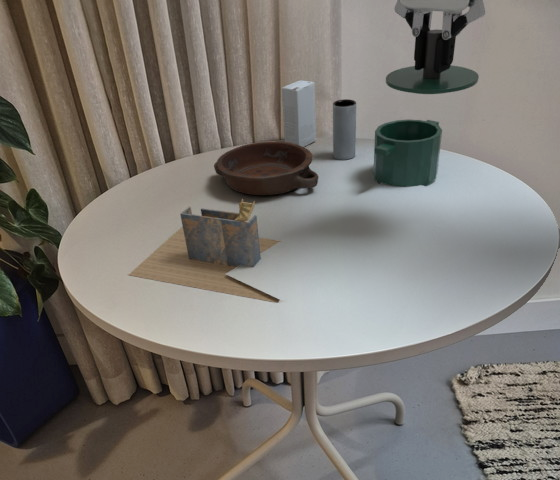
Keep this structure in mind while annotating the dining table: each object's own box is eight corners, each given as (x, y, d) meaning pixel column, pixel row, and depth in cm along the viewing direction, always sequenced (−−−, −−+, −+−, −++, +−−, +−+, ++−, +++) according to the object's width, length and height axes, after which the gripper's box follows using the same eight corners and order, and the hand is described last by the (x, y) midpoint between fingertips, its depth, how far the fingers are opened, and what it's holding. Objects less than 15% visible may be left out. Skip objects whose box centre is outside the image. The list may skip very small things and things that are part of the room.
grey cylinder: (339, 161, 116) (339, 107, 109) (329, 154, 119) (328, 102, 112) (359, 156, 117) (360, 103, 110) (348, 150, 120) (349, 97, 114)
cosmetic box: (301, 138, 128) (299, 78, 120) (317, 141, 125) (316, 81, 117) (283, 146, 124) (279, 86, 116) (299, 150, 122) (296, 89, 114)
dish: (238, 160, 120) (236, 135, 117) (337, 172, 112) (337, 146, 109) (194, 194, 109) (189, 168, 106) (299, 210, 101) (298, 182, 97)
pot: (455, 168, 110) (461, 122, 104) (405, 200, 101) (409, 151, 95) (404, 155, 116) (407, 111, 110) (352, 184, 107) (353, 138, 102)
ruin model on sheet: (318, 246, 91) (317, 186, 84) (277, 302, 80) (272, 239, 73) (182, 226, 99) (171, 171, 93) (128, 274, 88) (111, 215, 81)
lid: (493, 79, 81) (502, 25, 76) (448, 104, 74) (454, 46, 70) (416, 68, 87) (420, 18, 83) (367, 90, 81) (369, 37, 76)
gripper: (529, -109, 65) (499, 69, 77) (407, -103, 74) (397, 56, 86) (499, -104, 61) (472, 83, 73) (373, -98, 70) (368, 69, 82)
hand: (432, 67), depth 79 cm, fingers closed on lid, 2 cm apart
